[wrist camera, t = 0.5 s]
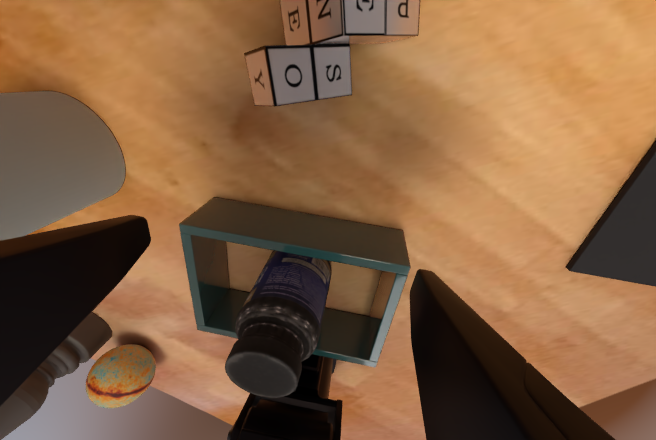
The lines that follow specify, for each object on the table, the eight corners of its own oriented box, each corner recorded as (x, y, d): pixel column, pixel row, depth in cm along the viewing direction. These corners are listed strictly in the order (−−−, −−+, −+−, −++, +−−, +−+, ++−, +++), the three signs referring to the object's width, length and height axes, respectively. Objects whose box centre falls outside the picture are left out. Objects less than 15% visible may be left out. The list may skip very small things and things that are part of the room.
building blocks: (351, 1, 17) (231, -9, 13) (421, -28, 13) (281, -55, 10) (355, 91, 20) (254, 105, 16) (415, 89, 16) (301, 106, 12)
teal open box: (375, 323, 28) (375, 368, 24) (223, 292, 29) (197, 330, 25) (403, 230, 23) (411, 266, 18) (213, 196, 24) (178, 223, 19)
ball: (161, 372, 39) (122, 426, 33) (115, 351, 38) (67, 403, 32) (172, 349, 36) (132, 404, 30) (123, 325, 35) (70, 377, 29)
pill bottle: (267, 236, 25) (202, 337, 15) (332, 240, 24) (306, 349, 15) (275, 287, 28) (224, 398, 18) (333, 291, 27) (312, 411, 17)
